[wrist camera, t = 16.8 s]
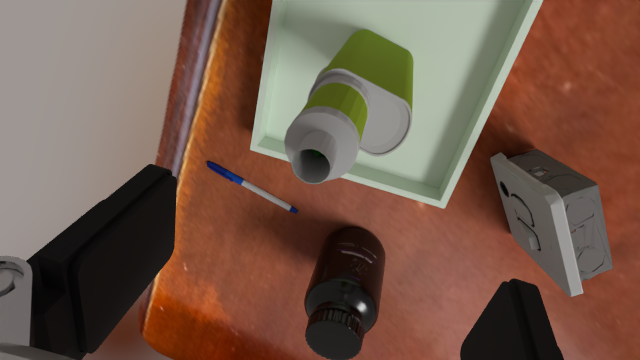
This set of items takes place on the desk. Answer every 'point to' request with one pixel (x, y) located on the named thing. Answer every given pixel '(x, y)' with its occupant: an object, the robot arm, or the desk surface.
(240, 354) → the desk surface
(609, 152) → the desk surface
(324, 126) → the vape
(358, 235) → the supplement bottle
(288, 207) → the ballpoint pen
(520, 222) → the electrical switch
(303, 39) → the parts tray
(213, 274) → the desk surface
